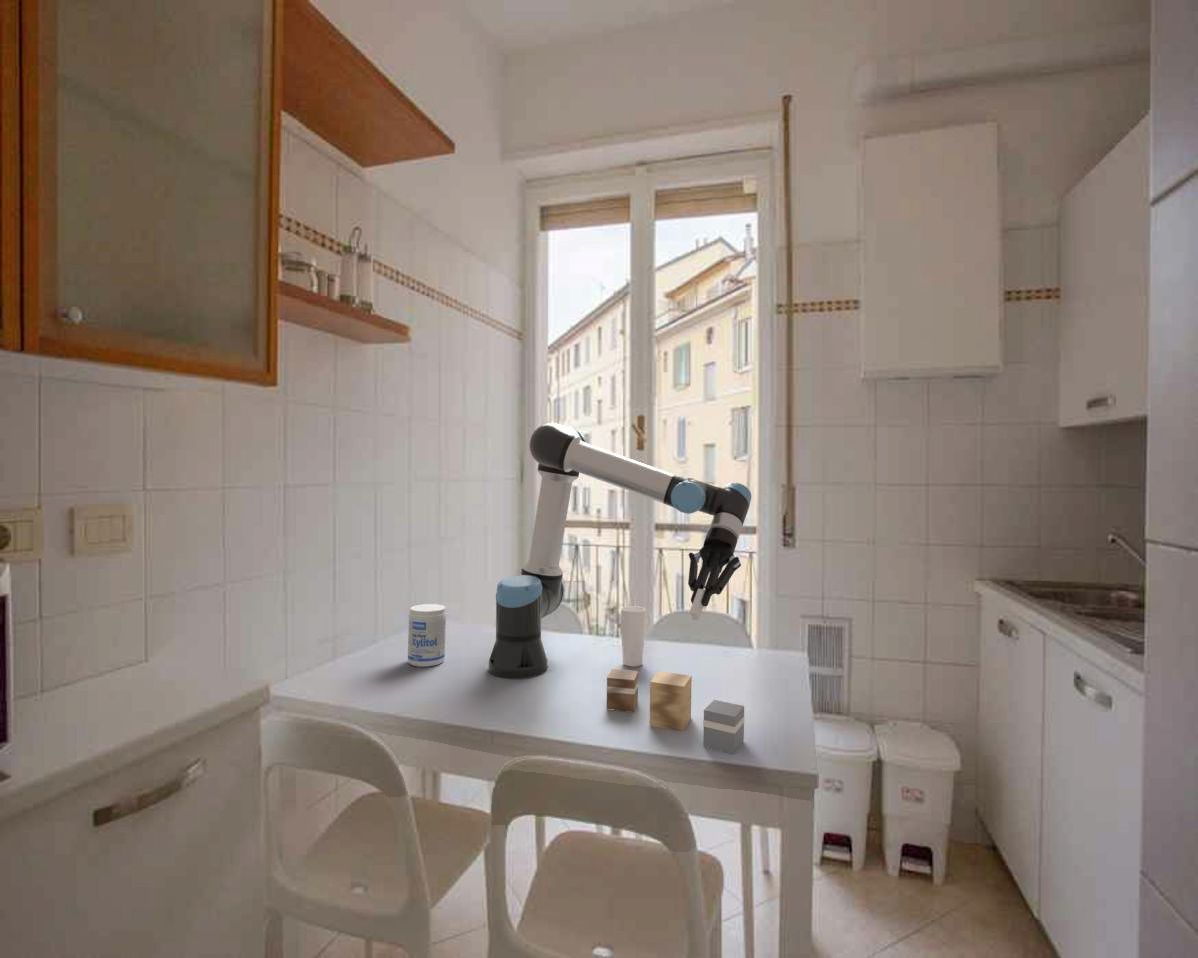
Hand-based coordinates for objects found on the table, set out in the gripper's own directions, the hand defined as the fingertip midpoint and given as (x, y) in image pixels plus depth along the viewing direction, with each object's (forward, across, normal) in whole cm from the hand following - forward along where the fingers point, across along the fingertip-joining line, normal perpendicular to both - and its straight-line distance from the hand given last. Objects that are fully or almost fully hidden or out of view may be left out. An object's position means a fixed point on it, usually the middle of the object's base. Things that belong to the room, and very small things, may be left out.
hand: (694, 616), depth 134 cm
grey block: (+25, -13, -3) cm, 28 cm away
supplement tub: (+24, +70, -4) cm, 75 cm away
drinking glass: (+3, +24, -25) cm, 35 cm away
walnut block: (+21, +12, -7) cm, 25 cm away
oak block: (+22, 0, -6) cm, 23 cm away
